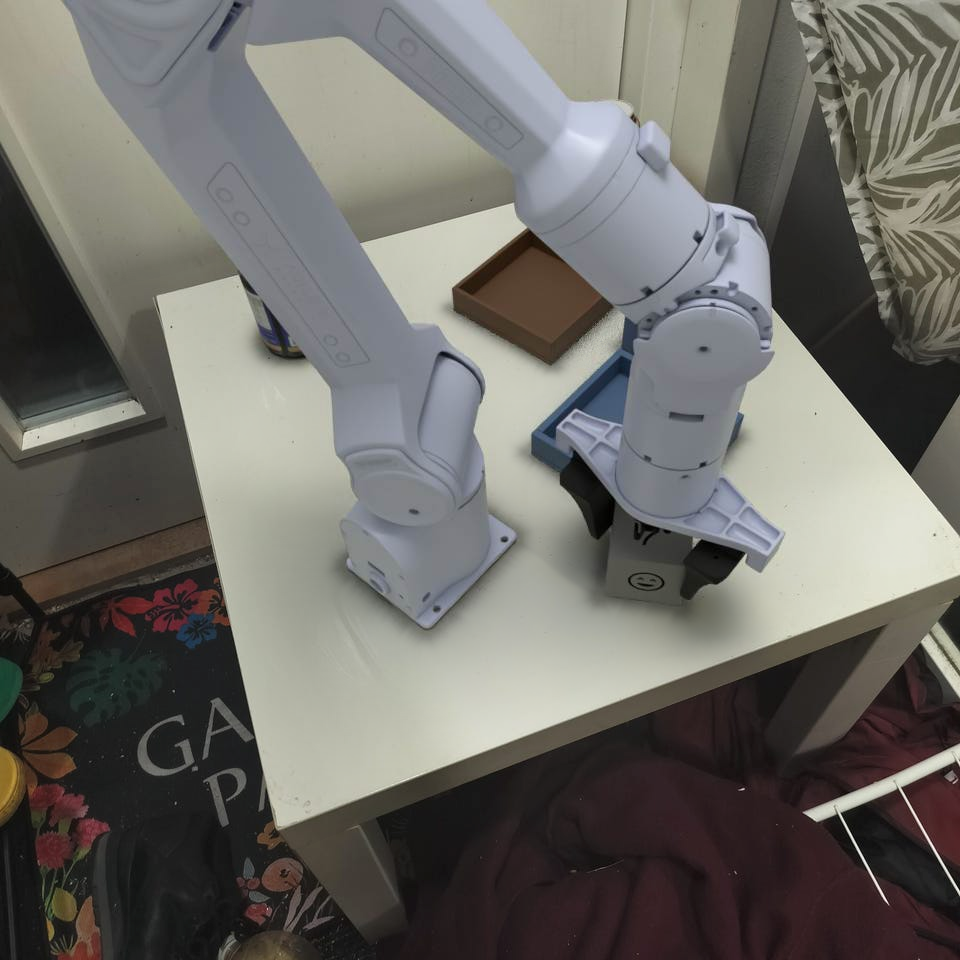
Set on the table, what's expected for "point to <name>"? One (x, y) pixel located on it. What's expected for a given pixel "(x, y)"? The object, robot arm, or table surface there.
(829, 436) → the table surface
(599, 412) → the blue tray
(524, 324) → the walnut tray
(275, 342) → the pill bottle
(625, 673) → the table surface
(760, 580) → the table surface
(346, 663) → the table surface
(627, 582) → the dice cube
